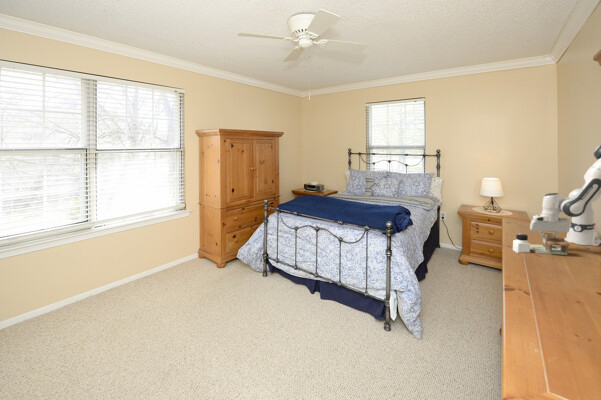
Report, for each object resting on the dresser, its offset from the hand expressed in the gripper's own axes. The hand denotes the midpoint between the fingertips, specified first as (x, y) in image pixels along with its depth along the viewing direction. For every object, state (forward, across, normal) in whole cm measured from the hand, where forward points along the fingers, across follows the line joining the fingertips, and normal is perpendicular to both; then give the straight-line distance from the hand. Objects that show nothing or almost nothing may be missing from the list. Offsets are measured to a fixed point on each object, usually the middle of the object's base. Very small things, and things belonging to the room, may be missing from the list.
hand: (548, 238), depth 200 cm
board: (+8, +2, +5) cm, 10 cm away
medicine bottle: (+8, +17, +9) cm, 21 cm away
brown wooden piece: (+6, -1, +11) cm, 12 cm away
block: (+3, 0, 0) cm, 3 cm away
